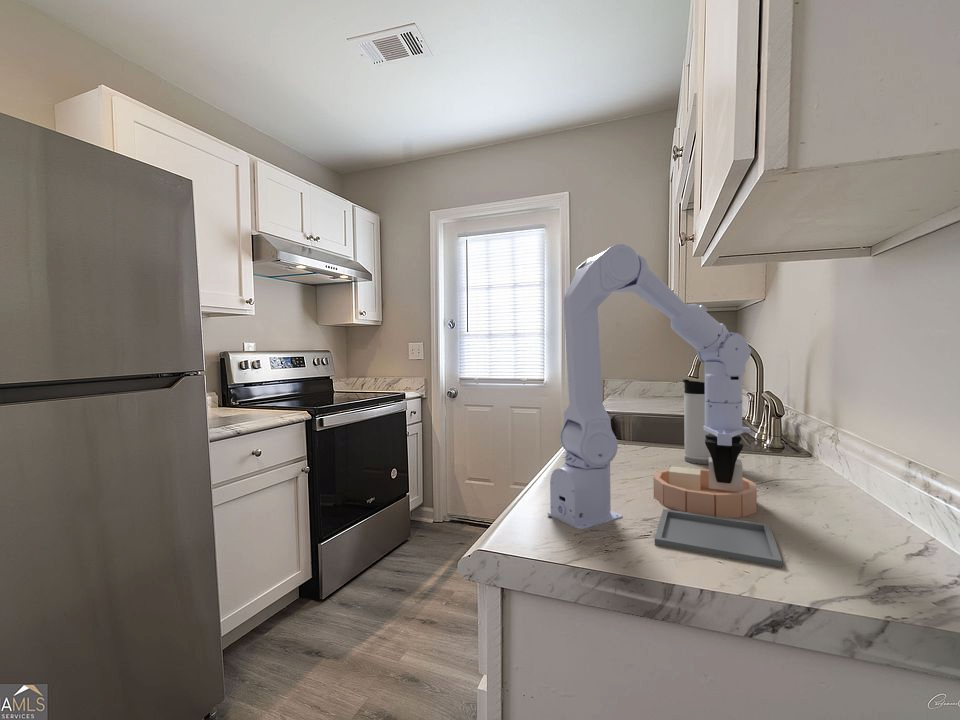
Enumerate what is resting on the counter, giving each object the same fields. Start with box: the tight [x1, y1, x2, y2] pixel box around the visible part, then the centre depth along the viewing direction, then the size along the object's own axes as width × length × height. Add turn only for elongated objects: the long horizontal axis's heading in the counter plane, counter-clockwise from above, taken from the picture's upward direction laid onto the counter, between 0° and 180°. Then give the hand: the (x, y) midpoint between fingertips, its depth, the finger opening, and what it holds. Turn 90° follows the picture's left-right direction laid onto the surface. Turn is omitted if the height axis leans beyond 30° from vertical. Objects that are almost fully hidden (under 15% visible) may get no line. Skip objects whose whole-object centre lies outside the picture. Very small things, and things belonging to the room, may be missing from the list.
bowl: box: [653, 467, 758, 518], centre depth 77 cm, size 16×16×4 cm
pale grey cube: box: [708, 457, 743, 492], centre depth 76 cm, size 5×4×5 cm
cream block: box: [669, 465, 702, 491], centre depth 79 cm, size 5×4×5 cm
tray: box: [654, 508, 783, 569], centre depth 62 cm, size 13×15×1 cm
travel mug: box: [682, 379, 713, 465], centre depth 106 cm, size 6×7×20 cm
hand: (723, 478), depth 76 cm, fingers closed on pale grey cube, 4 cm apart
